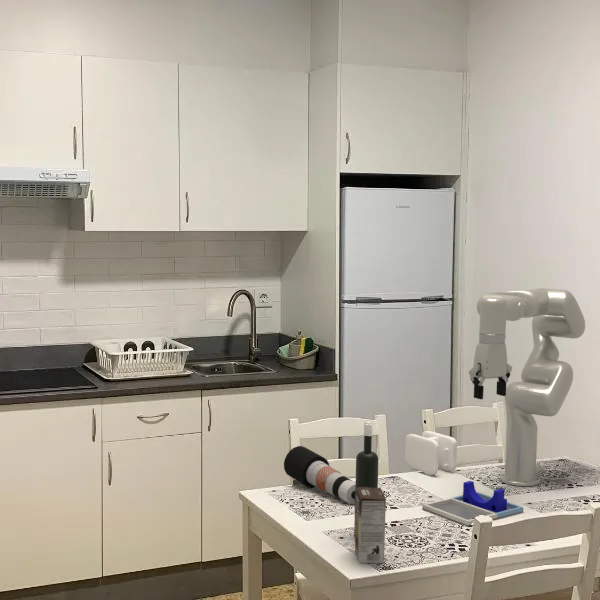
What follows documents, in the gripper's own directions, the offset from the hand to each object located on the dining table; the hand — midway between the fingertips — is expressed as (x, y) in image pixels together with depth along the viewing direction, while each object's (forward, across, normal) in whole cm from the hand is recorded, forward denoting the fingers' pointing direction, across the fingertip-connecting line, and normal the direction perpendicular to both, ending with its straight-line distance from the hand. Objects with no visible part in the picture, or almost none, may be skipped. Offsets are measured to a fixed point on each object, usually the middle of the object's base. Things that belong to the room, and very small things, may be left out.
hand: (489, 396), depth 282 cm
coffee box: (+31, +61, +18) cm, 71 cm away
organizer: (+31, -7, -31) cm, 44 cm away
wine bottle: (+31, +52, +6) cm, 61 cm away
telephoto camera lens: (+31, +37, -28) cm, 56 cm away
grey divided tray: (+30, +13, +7) cm, 34 cm away
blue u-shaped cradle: (+30, +8, +7) cm, 32 cm away
